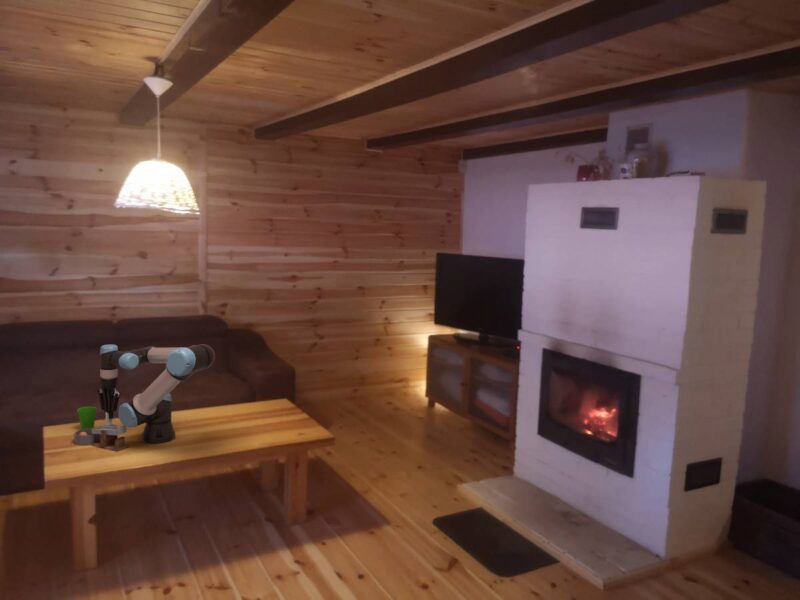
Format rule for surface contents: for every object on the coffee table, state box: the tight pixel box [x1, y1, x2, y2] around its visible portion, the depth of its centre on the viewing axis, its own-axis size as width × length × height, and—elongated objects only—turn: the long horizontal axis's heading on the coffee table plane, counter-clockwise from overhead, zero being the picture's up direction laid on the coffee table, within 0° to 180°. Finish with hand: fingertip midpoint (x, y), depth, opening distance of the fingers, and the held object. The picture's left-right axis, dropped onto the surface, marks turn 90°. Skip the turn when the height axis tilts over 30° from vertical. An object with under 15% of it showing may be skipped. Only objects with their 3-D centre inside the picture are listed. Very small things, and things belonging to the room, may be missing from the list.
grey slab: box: [91, 424, 128, 436], centre depth 298 cm, size 16×12×3 cm
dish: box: [73, 427, 101, 446], centre depth 300 cm, size 11×11×4 cm
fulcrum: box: [90, 425, 130, 453], centre depth 295 cm, size 16×9×9 cm, turn 68°
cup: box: [76, 406, 98, 430], centre depth 315 cm, size 9×9×11 cm
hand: (108, 424), depth 303 cm, fingers closed
